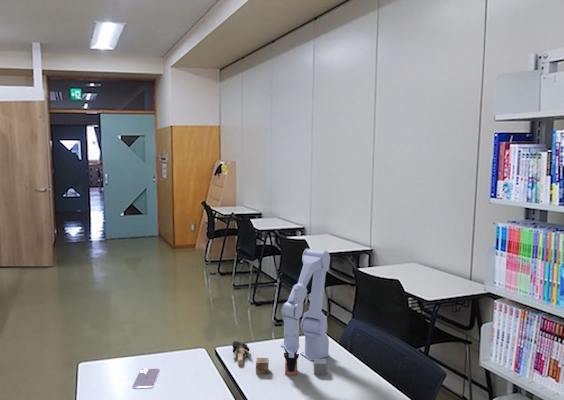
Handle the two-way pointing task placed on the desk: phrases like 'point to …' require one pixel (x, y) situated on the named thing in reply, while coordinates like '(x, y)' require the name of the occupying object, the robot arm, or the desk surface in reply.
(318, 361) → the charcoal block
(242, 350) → the toy figure
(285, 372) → the red block
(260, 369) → the walnut block
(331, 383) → the desk surface
